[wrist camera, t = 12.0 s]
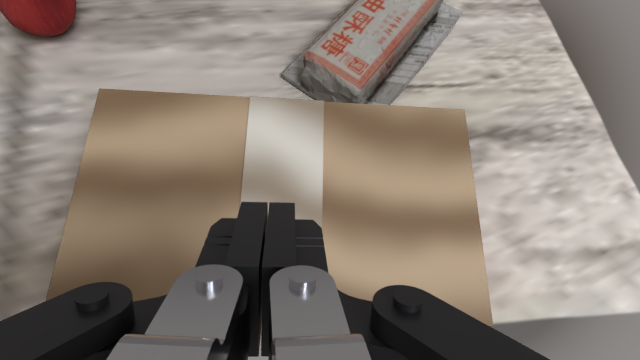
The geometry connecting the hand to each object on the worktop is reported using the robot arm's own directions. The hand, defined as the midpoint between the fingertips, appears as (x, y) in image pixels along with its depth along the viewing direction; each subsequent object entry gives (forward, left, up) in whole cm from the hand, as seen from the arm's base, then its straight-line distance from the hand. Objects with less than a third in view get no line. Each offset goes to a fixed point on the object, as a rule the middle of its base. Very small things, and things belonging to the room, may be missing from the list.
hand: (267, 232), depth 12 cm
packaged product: (+27, +6, -22) cm, 36 cm away
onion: (+11, +32, -21) cm, 40 cm away
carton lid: (+6, +3, -14) cm, 15 cm away
